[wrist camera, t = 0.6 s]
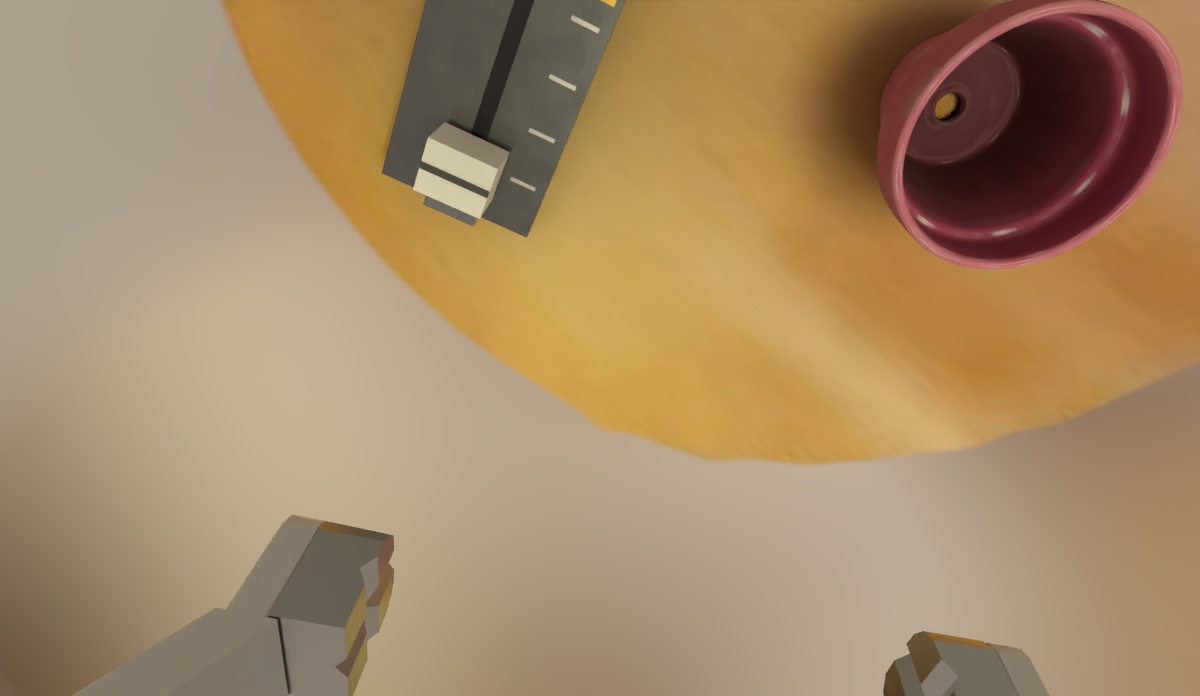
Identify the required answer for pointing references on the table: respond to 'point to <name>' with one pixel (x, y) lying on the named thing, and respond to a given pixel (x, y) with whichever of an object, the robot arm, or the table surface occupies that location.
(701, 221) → the table surface
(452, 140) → the fader knob
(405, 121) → the fader console
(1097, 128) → the plant pot
